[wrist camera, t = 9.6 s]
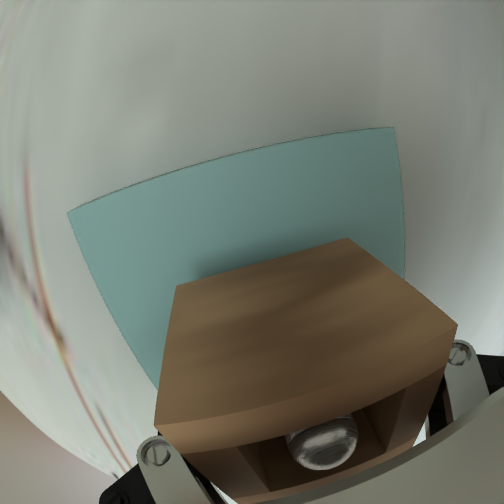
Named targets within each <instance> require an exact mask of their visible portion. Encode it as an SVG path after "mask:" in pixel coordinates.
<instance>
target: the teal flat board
mask: <svg viewBox="0 0 504 504" xmlns="http://www.w3.org/2000/svg"><path fill="white" fill-rule="evenodd" d="M67 215H68V218H69V221H70V224H71V226H72V229H73V232H74V234H75V237H76V239H77V242H78V244H79V247H80V249H81V252H82V254H83V257H84V259H85V261H86V264H87V266H88V268H89V270H90V273H91V275H92V277H93V279H94V281H95V283H96V286H97V288H98V290H99V292H100V294H101V296H102V298H103V300H104V302H105V304H106V306H107V308H108V310H109V312H110V313H111V315H112V317H113V319H114V321H115V323H116V324H117V326H118V328H119V330H120V332H121V333H122V335H123V337H124V339H125V340H126V342H127V344H128V345H129V347H130V349H131V350H132V352H133V354H134V355H135V357H136V359H137V360H138V362H139V363H140V365H141V366H142V368H143V370H144V371H145V373H146V374H147V376H148V377H149V379H150V380H151V382H152V383H153V385H154V386H155V387H156V389H157V390H158V387H159V380H160V373H161V366H162V360H163V354H164V348H165V342H166V336H167V330H168V325H169V319H170V314H171V309H172V304H173V299H174V294H175V289H176V286H177V285H180V284H184V283H188V282H191V281H195V280H199V279H202V278H206V277H210V276H213V275H217V274H221V273H224V272H228V271H231V270H235V269H239V268H242V267H246V266H249V265H253V264H256V263H260V262H264V261H267V260H271V259H274V258H278V257H281V256H285V255H288V254H292V253H295V252H299V251H302V250H306V249H309V248H313V247H316V246H320V245H323V244H327V243H330V242H334V241H337V240H340V239H344V238H347V237H348V238H349V239H351V240H352V241H353V242H355V243H356V244H357V245H359V246H360V247H362V248H363V249H364V250H366V251H367V252H368V253H370V254H371V255H372V256H374V257H375V258H376V259H378V260H379V261H380V262H382V263H383V264H384V265H386V266H387V267H388V268H390V269H391V270H392V271H393V272H395V273H396V274H397V275H399V276H400V277H401V278H402V279H404V264H405V242H404V213H403V198H402V186H401V176H400V167H399V159H398V151H397V145H396V138H395V132H394V127H383V128H370V129H362V130H354V131H347V132H340V133H334V134H327V135H321V136H315V137H310V138H304V139H299V140H294V141H288V142H284V143H279V144H274V145H269V146H265V147H260V148H256V149H252V150H248V151H243V152H239V153H235V154H232V155H228V156H224V157H220V158H216V159H213V160H209V161H206V162H202V163H199V164H195V165H192V166H188V167H185V168H182V169H179V170H175V171H172V172H169V173H166V174H163V175H160V176H157V177H154V178H151V179H148V180H145V181H142V182H139V183H137V184H134V185H131V186H128V187H126V188H123V189H120V190H118V191H115V192H112V193H110V194H107V195H105V196H102V197H100V198H97V199H95V200H92V201H90V202H88V203H85V204H83V205H80V206H78V207H76V208H75V209H73V210H71V211H69V212H67Z"/></svg>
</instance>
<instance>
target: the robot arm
mask: <svg viewBox="0 0 504 504" xmlns="http://www.w3.org/2000/svg"><path fill="white" fill-rule="evenodd" d="M425 431H426V440H424V441H422V442H421V443H419V444H417V445H415V446H414V447H412V448H410V449H408V450H406V451H404V452H403V453H401V454H399V455H397V456H395V457H393V458H391V459H389V460H387V461H385V462H382V463H380V464H378V465H376V466H374V467H371V468H369V469H367V470H365V471H362V472H360V473H357V474H355V475H352V476H350V477H347V478H344V479H342V480H339V481H336V482H333V483H330V484H327V485H324V486H321V487H318V488H315V489H312V490H308V491H305V492H301V493H297V494H294V495H290V496H286V497H281V498H277V499H273V500H268V501H263V502H257V503H252V504H504V356H492V355H480V354H476V353H475V350H474V348H473V347H472V346H471V345H470V344H469V343H468V342H466V341H463V340H454V342H453V345H452V349H451V352H450V356H449V359H448V362H447V365H446V368H445V371H444V374H443V377H442V380H441V383H440V385H439V388H438V391H437V393H436V396H435V398H434V401H433V403H432V406H431V408H430V411H429V413H428V415H427V417H426V420H425ZM136 456H137V461H138V464H137V465H135V466H134V467H133V468H132V469H131V470H129V471H128V472H127V473H126V474H125V475H123V476H122V477H121V478H120V479H118V480H117V481H116V482H115V483H114V484H113V485H111V486H110V487H109V488H107V489H106V490H105V491H104V492H103V493H102V494H101V497H100V499H99V504H228V503H227V501H226V500H225V499H224V497H223V496H222V495H221V493H220V492H219V490H218V489H217V488H216V486H215V485H214V484H213V483H212V482H210V481H209V480H208V479H207V478H206V477H205V476H204V475H202V474H201V473H200V472H199V471H198V470H197V469H196V468H195V467H194V466H193V465H191V464H190V463H189V462H188V461H187V460H186V459H185V458H184V457H183V456H182V455H181V454H180V453H179V452H178V451H177V450H176V449H175V448H174V447H173V446H172V445H171V444H170V443H169V442H168V441H167V440H166V439H165V437H164V436H163V435H162V434H161V433H160V432H159V431H158V436H153V437H150V438H148V439H146V440H145V441H144V442H143V443H142V444H141V445H140V446H139V448H138V450H137V455H136Z"/></svg>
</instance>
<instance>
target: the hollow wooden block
mask: <svg viewBox="0 0 504 504" xmlns="http://www.w3.org/2000/svg"><path fill="white" fill-rule="evenodd" d="M457 326H458V324H457V323H456V322H454V321H453V320H452V319H451V318H450V317H449V316H448V315H446V314H445V313H444V312H443V311H442V310H440V309H439V308H438V307H437V306H436V305H435V304H433V303H432V302H431V301H430V300H429V299H427V298H426V297H425V296H424V295H422V294H421V293H420V292H419V291H418V290H416V289H415V288H414V287H413V286H411V285H410V284H409V283H408V282H406V281H405V280H404V279H402V278H401V277H400V276H399V275H397V274H396V273H395V272H393V271H392V270H391V269H390V268H388V267H387V266H386V265H384V264H383V263H382V262H380V261H379V260H378V259H376V258H375V257H374V256H372V255H371V254H370V253H368V252H367V251H366V250H364V249H363V248H362V247H360V246H359V245H357V244H356V243H355V242H353V241H352V240H351V239H349V238H348V237H347V238H344V239H340V240H337V241H334V242H330V243H327V244H323V245H320V246H316V247H313V248H309V249H306V250H302V251H299V252H295V253H292V254H288V255H285V256H281V257H278V258H274V259H271V260H267V261H264V262H260V263H256V264H253V265H249V266H246V267H242V268H239V269H235V270H231V271H228V272H224V273H221V274H217V275H213V276H210V277H206V278H202V279H199V280H195V281H191V282H188V283H184V284H180V285H177V286H176V289H175V294H174V299H173V304H172V309H171V314H170V319H169V325H168V330H167V336H166V342H165V348H164V354H163V360H162V366H161V373H160V380H159V387H158V394H157V402H156V410H155V419H154V427H155V428H156V429H157V430H158V431H159V432H160V433H161V434H162V435H163V436H164V437H165V439H166V440H167V441H168V442H169V443H170V444H171V445H172V446H173V447H174V448H175V449H176V450H177V451H178V452H179V453H180V454H181V455H182V456H183V457H184V458H185V459H186V460H187V461H188V462H189V463H190V464H191V465H193V466H194V467H195V468H196V469H197V470H198V471H199V472H200V473H201V474H202V475H204V476H205V477H206V478H207V479H208V480H209V481H210V482H212V483H213V484H214V485H215V486H216V487H218V488H219V489H220V490H221V491H222V492H224V493H225V494H226V495H228V496H229V497H230V498H231V499H233V500H234V501H235V502H237V503H238V504H252V503H257V502H263V501H268V500H273V499H277V498H281V497H286V496H290V495H294V494H297V493H301V492H305V491H308V490H312V489H315V488H318V487H321V486H324V485H327V484H330V483H333V482H336V481H339V480H342V479H344V478H347V477H350V476H352V475H355V474H357V473H360V472H362V471H365V470H367V469H369V468H371V467H374V466H376V465H378V464H380V463H382V462H385V461H387V460H389V459H391V458H393V457H395V456H397V455H399V454H401V453H403V452H404V451H406V450H408V449H410V448H412V446H413V444H414V442H415V441H416V439H417V437H418V435H419V432H420V430H421V428H422V426H423V424H424V422H425V420H426V417H427V415H428V413H429V411H430V408H431V406H432V403H433V401H434V398H435V396H436V393H437V391H438V388H439V385H440V383H441V380H442V377H443V374H444V371H445V368H446V365H447V362H448V359H449V356H450V352H451V349H452V345H453V342H454V338H455V334H456V330H457ZM349 413H351V415H352V417H353V419H354V421H355V423H356V426H357V429H358V441H357V445H356V448H355V450H354V451H353V453H352V454H351V456H350V457H349V458H348V459H347V460H346V461H345V462H343V463H342V464H340V465H338V466H336V467H334V468H331V469H327V470H313V469H309V468H306V467H304V466H302V465H300V464H299V463H298V462H296V461H295V460H294V458H293V457H292V455H291V454H290V452H289V449H288V446H287V442H286V439H285V435H287V434H290V433H294V432H297V431H300V430H304V429H307V428H310V427H313V426H316V425H319V424H322V423H325V422H328V421H330V420H333V419H336V418H339V417H341V416H344V415H346V414H349Z"/></svg>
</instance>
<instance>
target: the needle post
mask: <svg viewBox="0 0 504 504" xmlns="http://www.w3.org/2000/svg"><path fill="white" fill-rule="evenodd" d="M285 439H286V442H287V446H288V449H289V452H290V454H291V455H292V457H293V458H294V460H295V461H296V462H298V463H299V464H300V465H302V466H304V467H306V468H309V469H313V470H327V469H331V468H334V467H336V466H338V465H340V464H342V463H343V462H345V461H346V460H347V459H348V458H349V457H350V456H351V454H352V453H353V451H354V450H355V448H356V445H357V441H358V429H357V426H356V423H355V421H354V419H353V417H352V415H351V413H349V414H346V415H344V416H341V417H339V418H336V419H333V420H330V421H328V422H325V423H322V424H319V425H316V426H313V427H310V428H307V429H304V430H300V431H297V432H294V433H290V434H287V435H285Z"/></svg>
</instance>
